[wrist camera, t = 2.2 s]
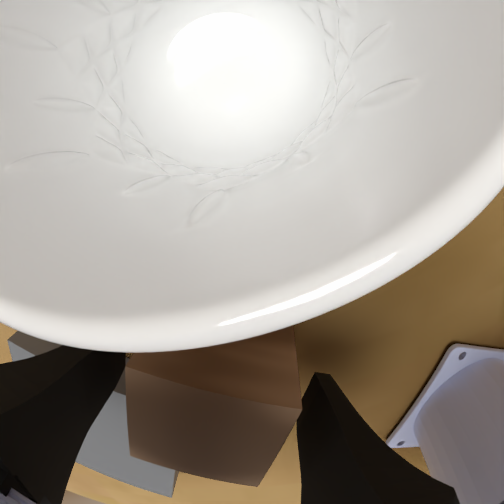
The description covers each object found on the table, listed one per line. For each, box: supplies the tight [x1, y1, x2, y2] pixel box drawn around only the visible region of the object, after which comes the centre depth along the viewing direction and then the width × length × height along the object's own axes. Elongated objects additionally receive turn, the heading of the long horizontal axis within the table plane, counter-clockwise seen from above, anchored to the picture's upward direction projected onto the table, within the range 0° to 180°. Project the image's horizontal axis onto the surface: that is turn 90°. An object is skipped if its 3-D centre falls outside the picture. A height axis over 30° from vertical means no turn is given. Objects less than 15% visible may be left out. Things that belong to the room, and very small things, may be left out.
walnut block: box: [125, 325, 302, 487], centre depth 10 cm, size 4×4×6 cm
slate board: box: [8, 331, 179, 498], centre depth 14 cm, size 10×10×2 cm
